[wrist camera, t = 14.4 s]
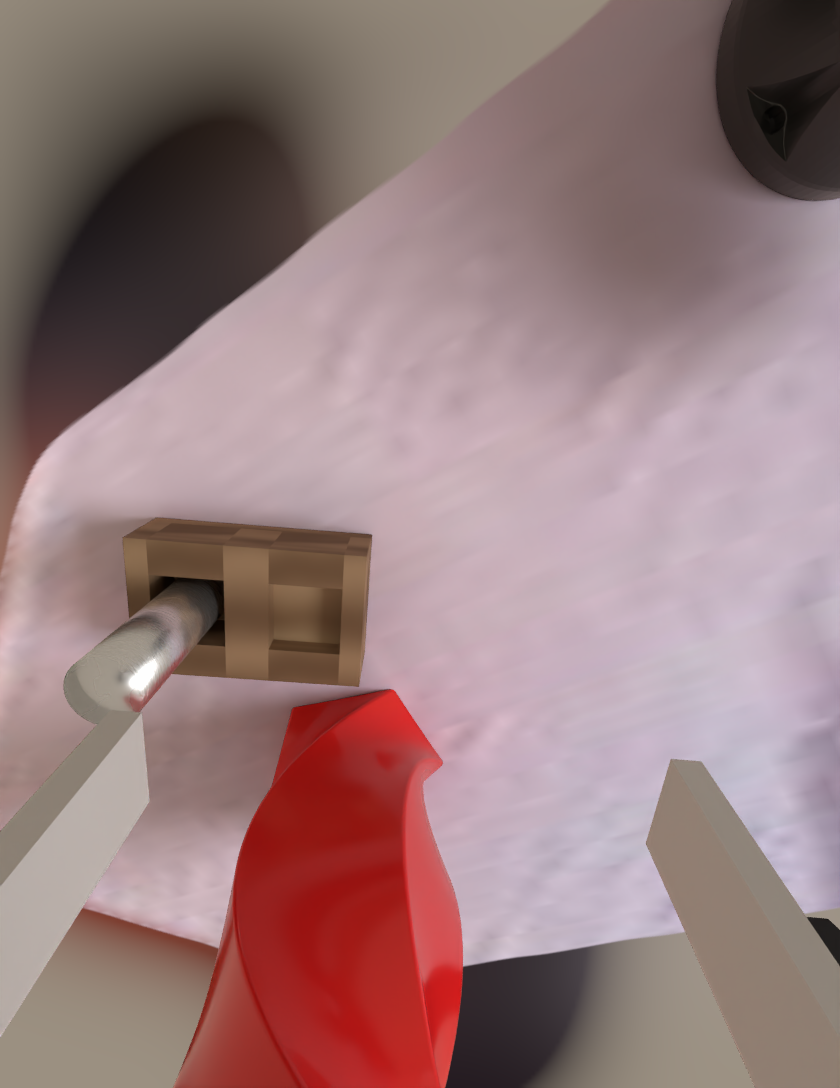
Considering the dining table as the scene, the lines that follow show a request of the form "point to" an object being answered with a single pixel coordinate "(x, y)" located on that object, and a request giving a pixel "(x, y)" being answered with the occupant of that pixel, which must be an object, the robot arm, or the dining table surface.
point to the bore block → (262, 596)
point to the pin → (144, 650)
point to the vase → (337, 918)
